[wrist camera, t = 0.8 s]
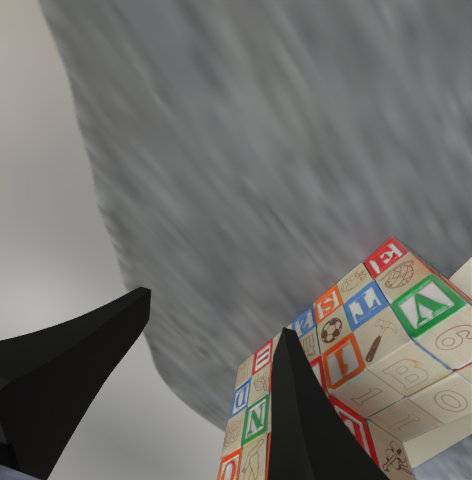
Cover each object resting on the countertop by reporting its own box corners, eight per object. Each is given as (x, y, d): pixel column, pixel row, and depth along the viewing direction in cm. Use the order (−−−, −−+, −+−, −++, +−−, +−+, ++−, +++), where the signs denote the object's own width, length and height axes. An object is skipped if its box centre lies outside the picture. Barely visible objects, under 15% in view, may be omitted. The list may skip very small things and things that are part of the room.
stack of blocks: (391, 232, 20) (533, 354, 8) (447, 277, 20) (651, 448, 9) (237, 366, 28) (207, 515, 17) (280, 395, 29) (278, 558, 18)
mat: (633, 333, 19) (637, 335, 19) (402, 472, 30) (402, 474, 30) (476, 252, 19) (478, 253, 19) (300, 421, 30) (300, 423, 29)
